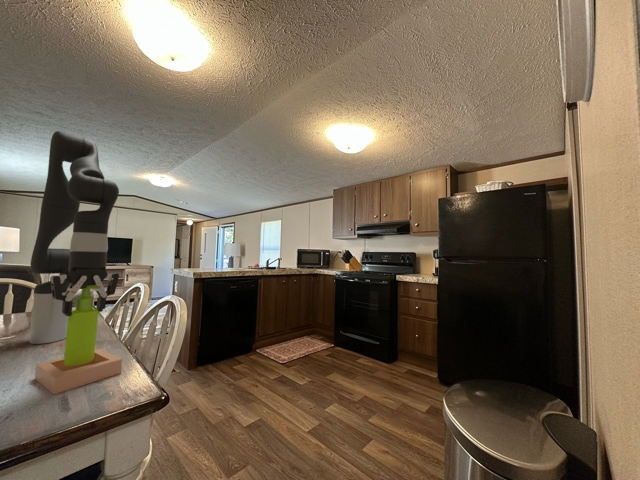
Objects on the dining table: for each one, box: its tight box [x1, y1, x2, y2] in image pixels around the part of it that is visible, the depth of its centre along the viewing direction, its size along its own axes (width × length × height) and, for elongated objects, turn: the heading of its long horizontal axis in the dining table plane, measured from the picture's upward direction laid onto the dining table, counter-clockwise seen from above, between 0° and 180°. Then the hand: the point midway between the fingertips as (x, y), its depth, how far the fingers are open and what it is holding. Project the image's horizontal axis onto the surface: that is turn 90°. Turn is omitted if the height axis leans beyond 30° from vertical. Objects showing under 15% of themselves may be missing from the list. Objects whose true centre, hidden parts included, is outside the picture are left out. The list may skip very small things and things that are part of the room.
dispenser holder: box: [34, 348, 123, 395], centre depth 67 cm, size 14×13×4 cm
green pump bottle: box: [63, 285, 101, 366], centre depth 68 cm, size 6×7×20 cm
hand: (84, 313), depth 68 cm, fingers closed on green pump bottle, 6 cm apart
